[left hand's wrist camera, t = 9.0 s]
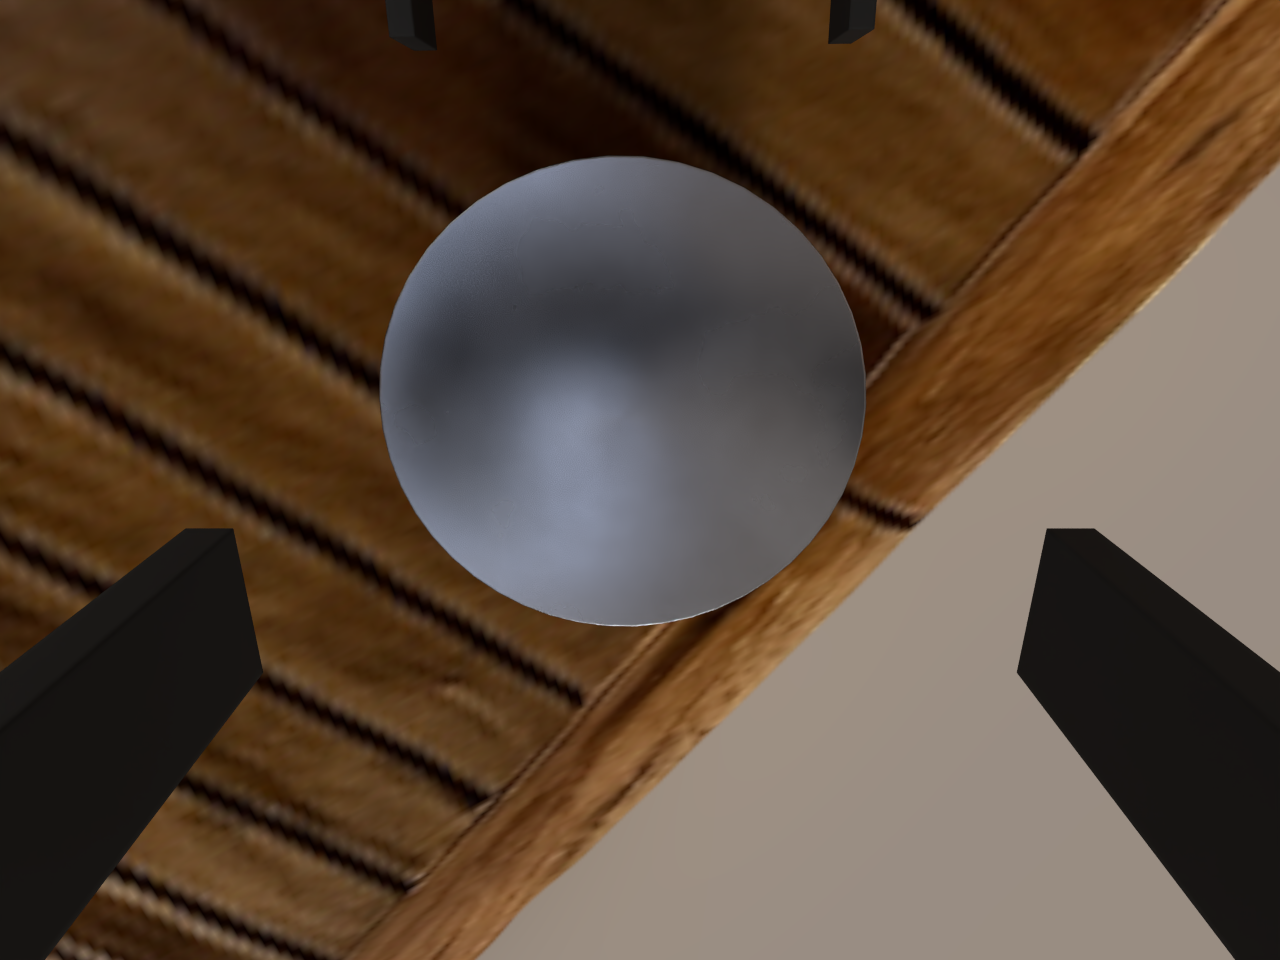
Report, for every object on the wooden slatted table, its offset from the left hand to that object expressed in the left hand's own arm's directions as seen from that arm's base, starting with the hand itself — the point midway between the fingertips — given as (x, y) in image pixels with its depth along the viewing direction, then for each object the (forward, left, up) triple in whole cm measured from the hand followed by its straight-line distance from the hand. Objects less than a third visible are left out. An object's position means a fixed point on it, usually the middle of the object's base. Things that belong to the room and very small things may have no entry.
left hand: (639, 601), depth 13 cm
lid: (-1, +1, -6) cm, 6 cm away
